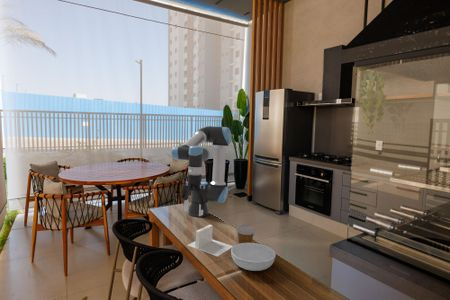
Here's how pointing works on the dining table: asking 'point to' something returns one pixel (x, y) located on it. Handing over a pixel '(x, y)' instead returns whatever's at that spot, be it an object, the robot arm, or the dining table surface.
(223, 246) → the mat
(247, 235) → the disposable coffee cup
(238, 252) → the serving bowl
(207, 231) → the tile
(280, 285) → the dining table surface
